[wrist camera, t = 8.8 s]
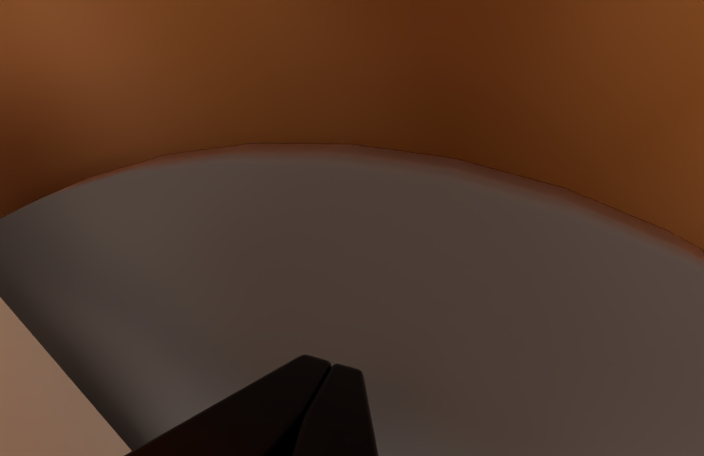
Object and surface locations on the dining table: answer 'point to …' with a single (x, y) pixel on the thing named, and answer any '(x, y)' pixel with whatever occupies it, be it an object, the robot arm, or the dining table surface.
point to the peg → (45, 402)
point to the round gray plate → (368, 298)
